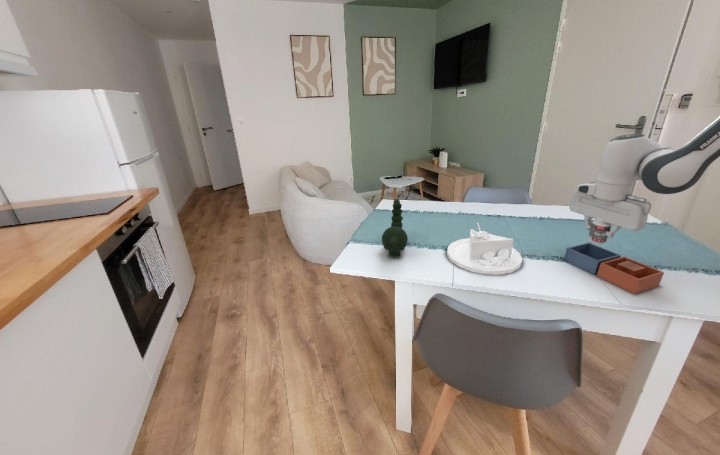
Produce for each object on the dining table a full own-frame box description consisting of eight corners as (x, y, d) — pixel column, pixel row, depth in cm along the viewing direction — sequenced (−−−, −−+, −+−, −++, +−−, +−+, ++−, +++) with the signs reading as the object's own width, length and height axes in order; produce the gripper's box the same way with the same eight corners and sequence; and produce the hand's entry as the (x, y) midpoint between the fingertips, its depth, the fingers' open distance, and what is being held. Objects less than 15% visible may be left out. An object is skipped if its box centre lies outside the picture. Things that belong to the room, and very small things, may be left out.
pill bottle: (591, 243, 92) (598, 218, 88) (584, 237, 96) (591, 213, 93) (609, 244, 91) (617, 219, 87) (601, 237, 95) (608, 214, 91)
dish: (446, 269, 97) (448, 239, 93) (448, 238, 119) (450, 212, 115) (528, 279, 90) (534, 246, 86) (514, 243, 112) (519, 216, 108)
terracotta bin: (658, 285, 84) (664, 272, 82) (634, 294, 81) (639, 280, 79) (619, 268, 93) (624, 256, 91) (596, 275, 90) (600, 262, 88)
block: (640, 281, 85) (645, 267, 84) (629, 284, 84) (634, 271, 82) (623, 273, 89) (627, 260, 88) (612, 276, 88) (617, 263, 86)
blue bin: (616, 267, 93) (621, 255, 92) (594, 274, 91) (598, 261, 89) (585, 253, 102) (588, 242, 101) (563, 259, 100) (566, 247, 98)
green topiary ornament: (386, 239, 125) (379, 263, 102) (385, 196, 120) (379, 211, 96) (408, 239, 124) (406, 264, 100) (408, 196, 118) (407, 212, 95)
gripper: (661, 198, 78) (643, 244, 84) (585, 182, 96) (575, 220, 102) (645, 202, 77) (628, 248, 82) (571, 184, 95) (561, 223, 100)
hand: (598, 232), depth 92 cm, fingers closed on pill bottle, 5 cm apart
